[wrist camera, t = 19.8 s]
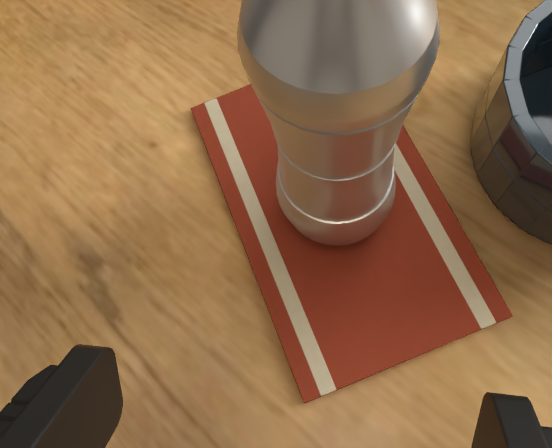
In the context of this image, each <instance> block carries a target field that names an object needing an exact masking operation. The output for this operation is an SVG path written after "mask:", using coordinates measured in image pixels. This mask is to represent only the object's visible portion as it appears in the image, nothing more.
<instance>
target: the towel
mask: <svg viewBox="0 0 552 448" xmlns="http://www.w3.org/2000/svg"><path fill="white" fill-rule="evenodd" d="M191 110H192V113H193V115H194V118H195V120H196V123H197V126H198V128H199V131H200V133H201V136H202V139H203V141H204V144H205V146H206V149H207V152H208V154H209V157H210V159H211V162H212V165H213V167H214V170H215V172H216V175H217V178H218V180H219V183H220V185H221V188H222V191H223V193H224V196H225V198H226V201H227V204H228V206H229V209H230V211H231V214H232V217H233V219H234V222H235V224H236V227H237V230H238V232H239V235H240V237H241V240H242V243H243V245H244V248H245V250H246V253H247V256H248V258H249V261H250V263H251V266H252V269H253V271H254V274H255V276H256V279H257V282H258V284H259V287H260V289H261V292H262V295H263V297H264V300H265V302H266V305H267V308H268V310H269V313H270V315H271V318H272V321H273V323H274V326H275V328H276V331H277V334H278V336H279V339H280V342H281V344H282V347H283V349H284V352H285V355H286V357H287V360H288V362H289V365H290V368H291V370H292V373H293V375H294V378H295V381H296V383H297V386H298V388H299V391H300V394H301V396H302V399H303V401H304V403H306V402H309V401H311V400H314V399H316V398H318V397H321V396H323V395H326V394H328V393H330V392H333V391H335V390H337V389H340V388H342V387H345V386H347V385H349V384H352V383H354V382H357V381H359V380H361V379H364V378H366V377H369V376H371V375H373V374H376V373H378V372H381V371H383V370H385V369H388V368H390V367H392V366H395V365H397V364H400V363H402V362H404V361H407V360H409V359H412V358H414V357H416V356H419V355H421V354H424V353H426V352H428V351H431V350H433V349H435V348H438V347H440V346H443V345H445V344H447V343H450V342H452V341H455V340H457V339H459V338H462V337H464V336H467V335H469V334H471V333H474V332H476V331H478V330H481V329H483V328H486V327H488V326H490V325H493V324H495V323H498V322H500V321H502V320H505V319H507V318H510V317H512V314H511V312H510V310H509V308H508V307H507V305H506V303H505V302H504V300H503V298H502V296H501V295H500V293H499V291H498V289H497V288H496V286H495V284H494V282H493V281H492V279H491V277H490V276H489V274H488V272H487V270H486V269H485V267H484V265H483V263H482V262H481V260H480V258H479V256H478V255H477V253H476V251H475V249H474V248H473V246H472V244H471V243H470V241H469V239H468V237H467V236H466V234H465V232H464V230H463V229H462V227H461V225H460V223H459V222H458V220H457V218H456V216H455V215H454V213H453V211H452V210H451V208H450V206H449V204H448V203H447V201H446V199H445V197H444V196H443V194H442V192H441V190H440V189H439V187H438V185H437V184H436V182H435V180H434V178H433V177H432V175H431V173H430V171H429V170H428V168H427V166H426V164H425V163H424V161H423V159H422V157H421V156H420V154H419V152H418V151H417V149H416V147H415V145H414V144H413V142H412V140H411V138H410V137H409V135H408V133H407V131H406V130H405V128H404V126H403V125H402V128H401V130H400V133H399V136H398V139H397V141H396V145H395V147H394V160H393V164H394V170H395V181H396V187H395V199H394V203H393V206H392V209H391V211H390V212H389V214H388V216H387V218H386V219H385V220H384V221H383V223H382V224H381V225H380V226H379V227H378V228H377V229H376V230H375V231H374V232H373V233H372V234H370V235H369V236H368V237H367V238H365V239H363V240H361V241H359V242H356V243H353V244H349V245H341V246H333V245H325V244H321V243H318V242H315V241H313V240H311V239H309V238H307V237H306V236H304V235H303V234H302V233H301V232H299V231H298V230H297V229H296V228H295V227H294V226H293V224H292V223H291V222H290V221H289V220H288V218H287V217H286V216H285V214H284V212H283V211H282V209H281V207H280V205H279V201H278V198H277V193H276V172H277V164H278V145H277V142H276V138H275V135H274V132H273V129H272V126H271V123H270V120H269V118H268V117H267V115H266V113H265V111H264V109H263V107H262V105H261V103H260V101H259V99H258V97H257V95H256V93H255V91H254V89H253V87H252V85H251V84H250V85H248V86H245V87H243V88H240V89H238V90H235V91H233V92H230V93H228V94H225V95H223V96H220V97H218V98H215V99H212V100H210V101H207V102H205V103H203V104H200V105H198V106H195V107H193V108H191Z"/></svg>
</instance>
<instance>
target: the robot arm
mask: <svg viewBox="0 0 552 448" xmlns="http://www.w3.org/2000/svg"><path fill="white" fill-rule="evenodd" d="M122 407H123V397H122V391H121V386H120V380H119V374H118V369H117V363H116V357H115V353H114V351H113V349H111V348H108V347H99V346H90V345H81V344H79V345H76V346H75V347H73V348H72V349H71V351H70V352H69V353H68V354H67V356H66V357H65V358H64V359H63V360H62V362H61V363H60V364H59V365H58V366H56V365H50V366H48V367H47V368H45V369H44V370H42V371H41V372H39V373H38V374H36V375H35V376H33V377H32V378H30V379H29V380H28V381H27V382H26V383H25V384H24V385H23V387H22V388H21V389H20V390H19V391H18V392H17V393H16V395H15V396H14V397H13V398H12V401H11V403H8V404H7V405H6V406H5V407H4V408H3V410H2V411H1V412H0V448H105V447H106V445H107V443H108V441H109V440H110V438H111V436H112V434H113V433H114V431H115V429H116V427H117V425H118V423H119V420H120V417H121V413H122ZM471 448H552V428H551V427H543V426H540V423H539V421H538V418H537V416H536V413H535V411H534V409H533V406H532V404H531V402H530V400H529V399H528V398H527V397H524V396H515V395H506V394H498V393H489V392H487V393H486V394H485V395H484V397H483V401H482V405H481V409H480V413H479V417H478V422H477V426H476V430H475V434H474V438H473V442H472V447H471Z"/></svg>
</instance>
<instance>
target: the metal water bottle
mask: <svg viewBox="0 0 552 448" xmlns="http://www.w3.org/2000/svg"><path fill="white" fill-rule="evenodd" d="M237 39H238V51H239V54H240V57H241V60H242V64H243V66H244V69H245V71H246V74H247V77H248V80H249V82H250V84H251V85H252V87H253V89H254V91H255V93H256V95H257V97H258V99H259V101H260V103H261V105H262V107H263V109H264V111H265V113H266V115H267V117H268V118H269V120H270V123H271V126H272V129H273V132H274V135H275V138H276V142H277V145H278V164H277V172H276V193H277V198H278V201H279V205H280V207H281V209H282V211H283V212H284V214H285V216H286V217H287V218H288V220H289V221H290V222H291V223H292V224H293V226H294V227H295V228H296V229H297V230H298V231H299V232H301V233H302V234H303V235H304V236H306V237H307V238H309V239H311V240H313V241H315V242H318V243H321V244H325V245H333V246H341V245H349V244H353V243H356V242H359V241H361V240H363V239H365V238H367V237H368V236H369V235H370V234H372V233H373V232H374V231H375V230H376V229H377V228H378V227H379V226H380V225H381V224H382V223H383V221H384V220H385V219H386V218H387V216H388V214H389V212H390V211H391V209H392V206H393V203H394V199H395V187H396V181H395V170H394V164H393V160H394V147H395V145H396V141H397V139H398V136H399V133H400V130H401V128H402V125H403V122H404V120H405V118H406V116H407V114H408V112H409V111H410V109H411V107H412V105H413V103H414V102H415V100H416V98H417V96H418V94H419V92H420V91H421V89H422V87H423V86H424V84H425V82H426V80H427V78H428V76H429V73H430V71H431V68H432V66H433V64H434V61H435V59H436V55H437V51H438V47H439V43H440V25H439V17H438V9H437V3H436V0H242V3H241V9H240V15H239V23H238V31H237Z"/></svg>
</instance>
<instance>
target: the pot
mask: <svg viewBox="0 0 552 448" xmlns="http://www.w3.org/2000/svg"><path fill="white" fill-rule="evenodd" d="M471 153H472V158H473V163H474V167H475V170H476V172H477V175H478V178H479V180H480V182H481V184H482V186H483V187H484V189H485V191H486V193H487V194H488V195H489V197H490V198H491V200H492V201H493V202H494V204H495V205H496V206H497V207H498V208H499V209H500V210H501V211H502V212H503V213H504V214H505V215H506V216H507V217H508V218H509V219H510V220H512V221H513V222H514V223H515V224H516V225H518V226H519V227H521V228H522V229H524V230H525V231H526V232H528V233H529V234H531V235H533V236H535V237H537V238H539V239H541V240H542V241H544V242H547V243H549V244H552V0H544V1H543V2H542V3H541V4H539V5H538V6H537V7H536V8H535V9H533V10H532V11H531V12H530V13H528V14H527V15H526V16H525V18H523V20H522V22H521V24H520V25H519V27H518V29H517V30H516V32H515V34H514V35H513V37H512V39H511V41H510V42H509V44H508V46H507V48H506V50H505V52H504V54H503V56H502V58H501V60H500V62H499V65H498V67H497V69H496V71H495V73H494V75H493V77H492V79H491V82H490V83H489V85H488V88H487V90H486V92H485V94H484V96H483V98H482V100H481V102H480V104H479V106H478V109H477V111H476V113H475V118H474V122H473V126H472V133H471Z"/></svg>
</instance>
